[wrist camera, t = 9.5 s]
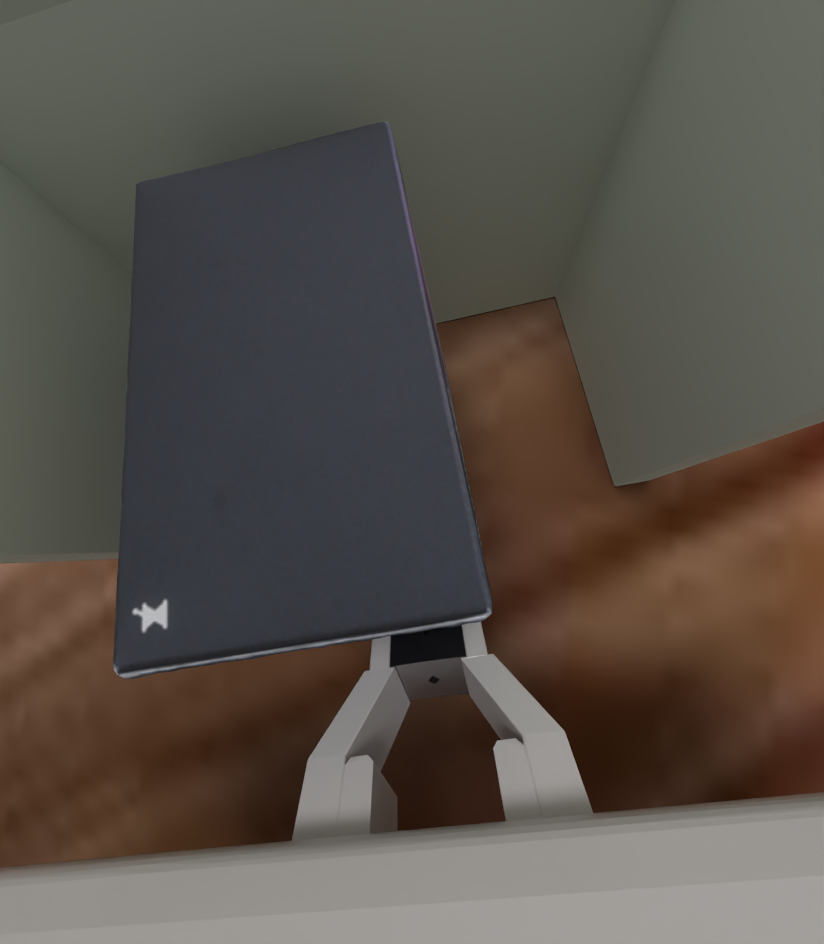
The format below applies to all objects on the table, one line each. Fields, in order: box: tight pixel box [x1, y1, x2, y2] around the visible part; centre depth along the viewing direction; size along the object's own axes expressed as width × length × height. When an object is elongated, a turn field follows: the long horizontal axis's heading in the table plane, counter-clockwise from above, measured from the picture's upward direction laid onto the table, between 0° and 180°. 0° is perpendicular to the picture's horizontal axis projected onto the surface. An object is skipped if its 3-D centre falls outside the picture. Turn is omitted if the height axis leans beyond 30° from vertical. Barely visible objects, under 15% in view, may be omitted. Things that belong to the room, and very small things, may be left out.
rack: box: [0, 0, 824, 563], centre depth 11 cm, size 20×12×13 cm, turn 99°
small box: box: [113, 122, 493, 679], centre depth 11 cm, size 11×6×10 cm, turn 10°
